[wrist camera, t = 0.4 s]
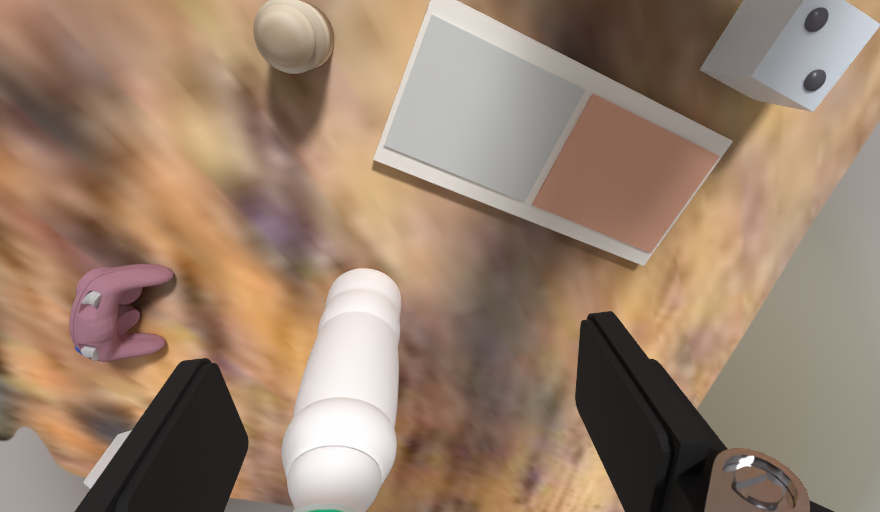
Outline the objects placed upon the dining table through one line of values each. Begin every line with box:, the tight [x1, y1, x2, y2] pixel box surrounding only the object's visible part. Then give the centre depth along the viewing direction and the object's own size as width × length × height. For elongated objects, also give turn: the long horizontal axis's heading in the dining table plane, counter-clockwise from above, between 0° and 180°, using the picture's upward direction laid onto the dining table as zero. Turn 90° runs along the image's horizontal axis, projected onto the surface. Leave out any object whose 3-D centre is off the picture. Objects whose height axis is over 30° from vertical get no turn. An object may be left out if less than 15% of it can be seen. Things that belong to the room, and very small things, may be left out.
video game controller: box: [69, 264, 174, 362], centre depth 39 cm, size 10×5×7 cm, turn 159°
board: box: [373, 0, 733, 266], centre depth 36 cm, size 13×28×1 cm, turn 67°
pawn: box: [254, 0, 334, 74], centre depth 29 cm, size 4×4×7 cm
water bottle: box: [282, 268, 401, 512], centre depth 31 cm, size 7×7×25 cm
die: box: [699, 0, 880, 112], centre depth 31 cm, size 6×6×6 cm
